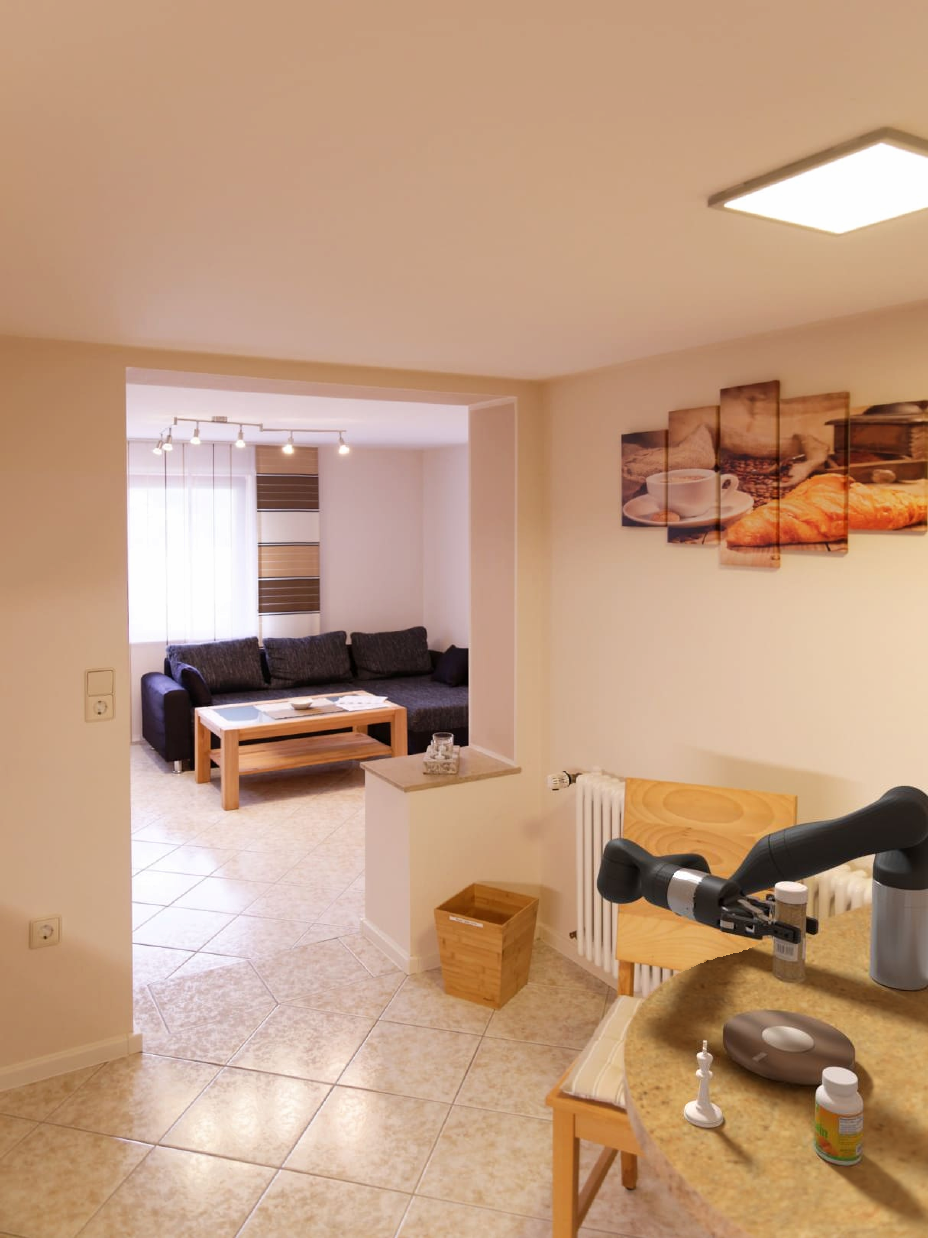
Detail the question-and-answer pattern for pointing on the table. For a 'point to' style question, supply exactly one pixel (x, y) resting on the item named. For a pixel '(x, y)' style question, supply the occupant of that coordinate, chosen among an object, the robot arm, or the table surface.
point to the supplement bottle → (838, 1117)
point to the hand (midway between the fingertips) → (807, 932)
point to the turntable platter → (786, 1045)
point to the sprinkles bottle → (792, 912)
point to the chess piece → (703, 1096)
